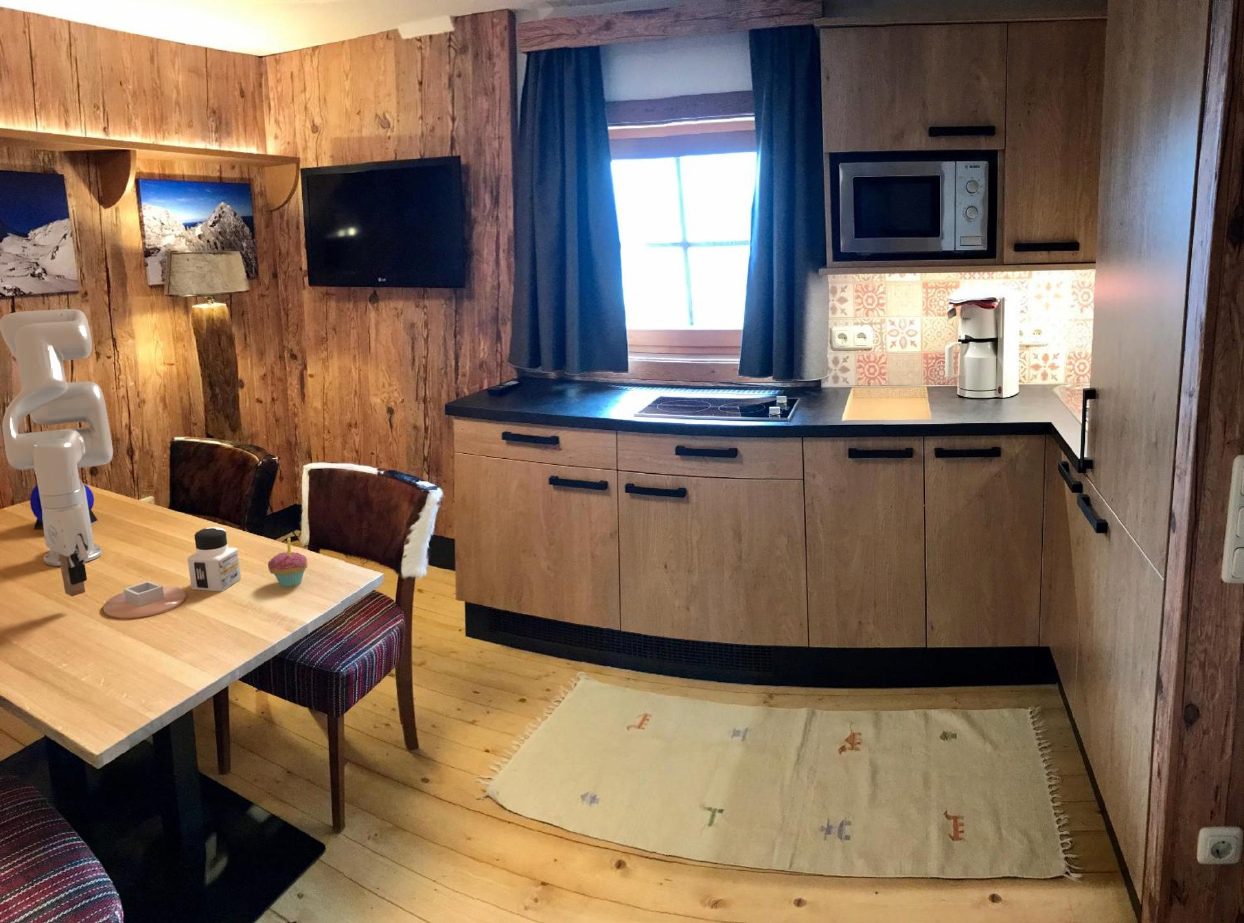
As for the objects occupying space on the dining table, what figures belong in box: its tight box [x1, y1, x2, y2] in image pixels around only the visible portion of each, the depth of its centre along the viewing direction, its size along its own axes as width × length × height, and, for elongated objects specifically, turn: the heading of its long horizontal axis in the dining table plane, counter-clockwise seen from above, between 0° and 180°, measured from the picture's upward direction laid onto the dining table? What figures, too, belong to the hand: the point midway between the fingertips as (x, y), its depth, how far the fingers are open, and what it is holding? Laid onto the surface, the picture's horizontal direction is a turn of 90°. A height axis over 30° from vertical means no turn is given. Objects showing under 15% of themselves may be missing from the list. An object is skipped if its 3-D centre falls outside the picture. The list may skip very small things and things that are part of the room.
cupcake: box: [267, 534, 309, 588], centre depth 221 cm, size 9×8×12 cm
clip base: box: [103, 580, 186, 620], centre depth 212 cm, size 16×16×4 cm
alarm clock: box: [29, 483, 98, 530], centre depth 264 cm, size 12×12×15 cm
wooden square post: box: [59, 554, 86, 597], centre depth 208 cm, size 3×3×9 cm
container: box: [187, 526, 242, 593], centre depth 221 cm, size 8×8×13 cm
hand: (75, 579), depth 209 cm, fingers closed on wooden square post, 2 cm apart
